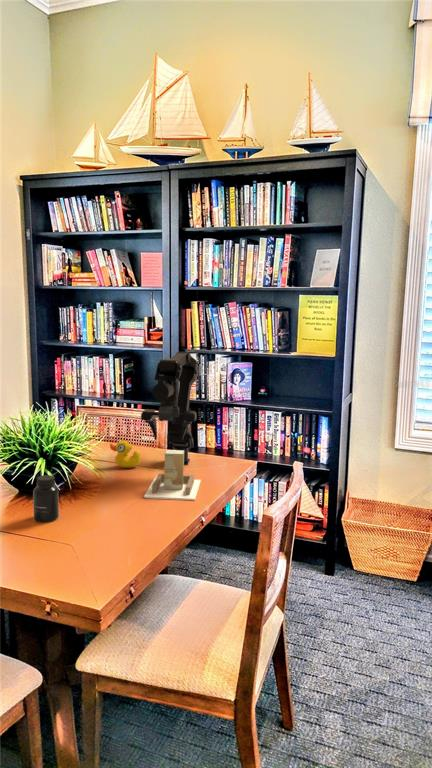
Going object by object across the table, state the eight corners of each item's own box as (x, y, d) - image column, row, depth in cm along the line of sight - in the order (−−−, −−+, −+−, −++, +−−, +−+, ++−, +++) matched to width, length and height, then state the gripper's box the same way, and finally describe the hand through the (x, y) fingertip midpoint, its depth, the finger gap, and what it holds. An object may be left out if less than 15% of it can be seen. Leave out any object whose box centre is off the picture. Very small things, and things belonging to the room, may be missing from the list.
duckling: (108, 468, 202) (107, 442, 200) (112, 464, 207) (111, 438, 206) (138, 470, 201) (138, 443, 200) (142, 465, 206) (142, 439, 205)
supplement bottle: (36, 524, 152) (34, 483, 150) (31, 516, 158) (30, 475, 156) (61, 520, 155) (60, 479, 153) (56, 512, 161) (55, 472, 159)
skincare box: (163, 489, 180) (163, 453, 178) (164, 485, 184) (164, 449, 182) (183, 489, 180) (183, 453, 178) (184, 485, 184) (184, 449, 182)
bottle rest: (154, 479, 192) (154, 470, 191) (200, 481, 190) (201, 472, 190) (144, 498, 174) (144, 488, 173) (194, 500, 173) (195, 490, 172)
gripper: (137, 399, 184) (137, 444, 187) (193, 400, 183) (192, 446, 185) (144, 393, 195) (144, 436, 198) (196, 395, 194) (196, 438, 196)
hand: (168, 439), depth 194 cm, fingers open, 9 cm apart
